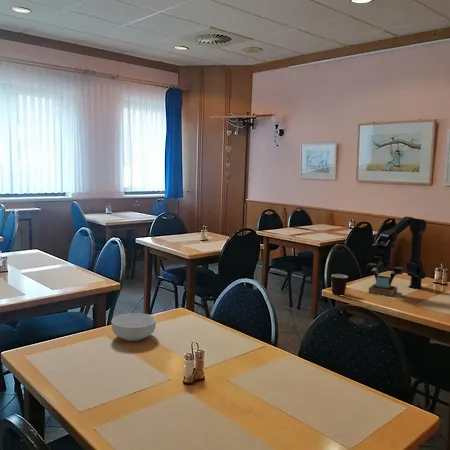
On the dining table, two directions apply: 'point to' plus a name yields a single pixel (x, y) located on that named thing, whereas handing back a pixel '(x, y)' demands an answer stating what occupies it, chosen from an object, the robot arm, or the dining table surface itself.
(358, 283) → the dining table surface
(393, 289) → the walnut crate
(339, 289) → the dark brown cup
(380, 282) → the small crate
